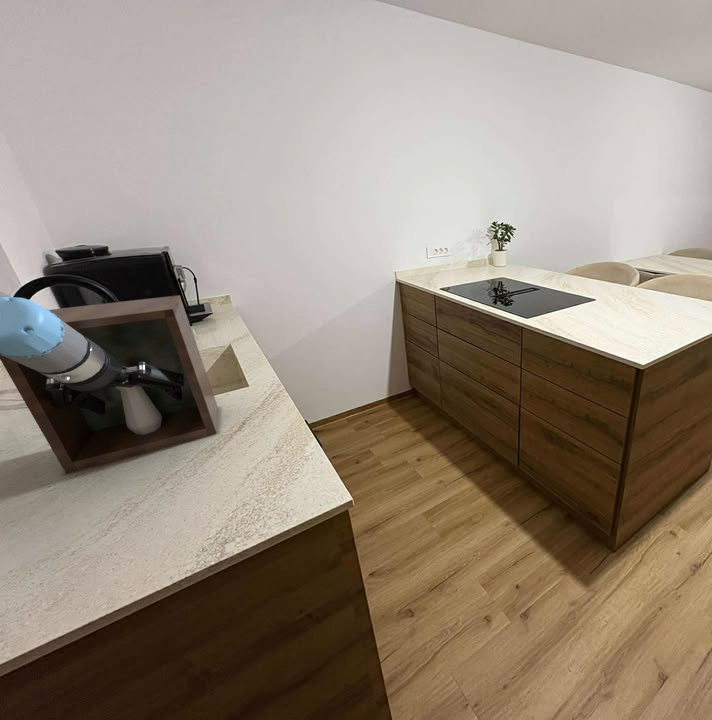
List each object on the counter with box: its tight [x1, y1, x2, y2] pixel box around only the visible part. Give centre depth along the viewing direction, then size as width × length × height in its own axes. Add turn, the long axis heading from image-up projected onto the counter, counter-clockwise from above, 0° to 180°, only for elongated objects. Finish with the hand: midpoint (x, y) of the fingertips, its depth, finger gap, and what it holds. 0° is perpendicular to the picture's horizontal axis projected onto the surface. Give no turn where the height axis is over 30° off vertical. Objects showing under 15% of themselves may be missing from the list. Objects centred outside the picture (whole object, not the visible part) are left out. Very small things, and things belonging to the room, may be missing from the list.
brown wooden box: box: [0, 294, 219, 475], centre depth 76 cm, size 24×13×28 cm, turn 122°
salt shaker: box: [115, 379, 162, 435], centre depth 78 cm, size 6×6×13 cm
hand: (142, 401), depth 81 cm, fingers open, 12 cm apart
